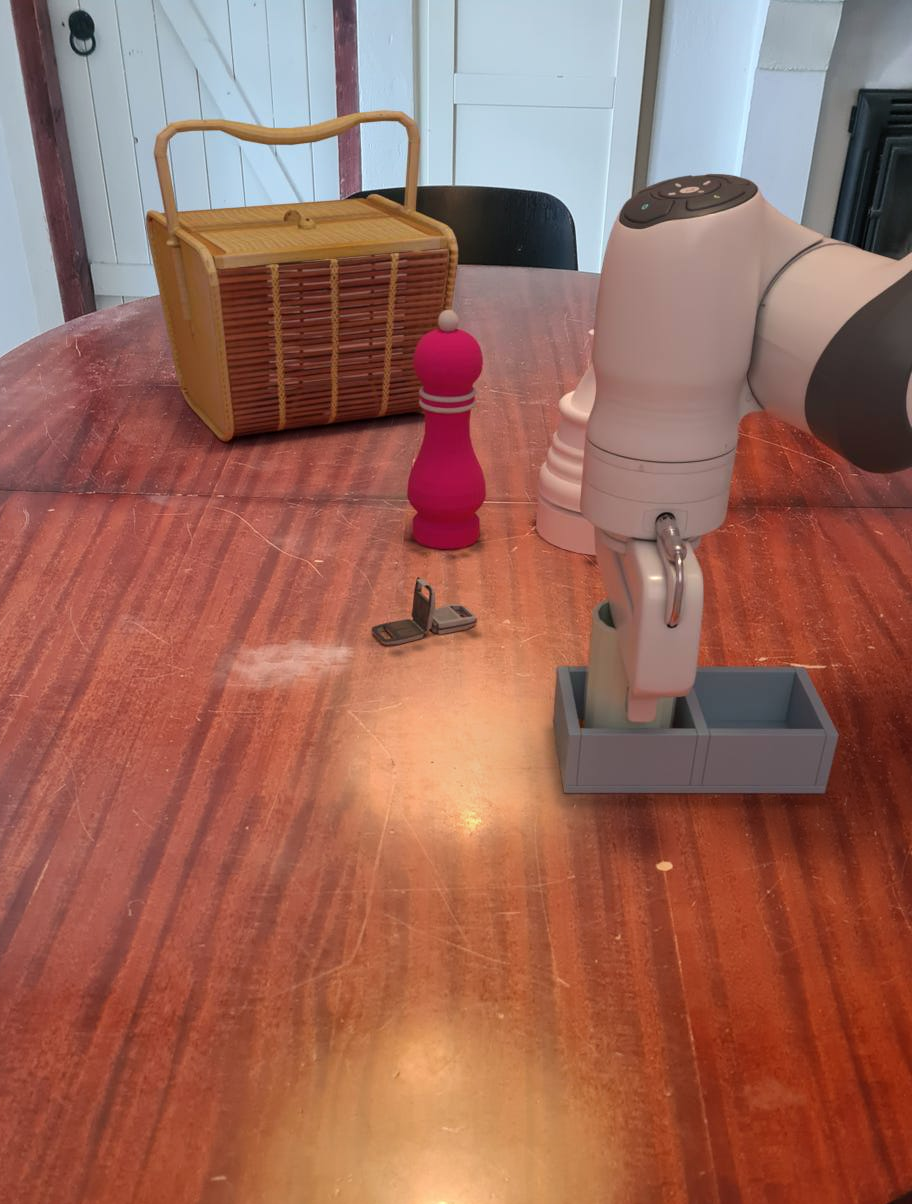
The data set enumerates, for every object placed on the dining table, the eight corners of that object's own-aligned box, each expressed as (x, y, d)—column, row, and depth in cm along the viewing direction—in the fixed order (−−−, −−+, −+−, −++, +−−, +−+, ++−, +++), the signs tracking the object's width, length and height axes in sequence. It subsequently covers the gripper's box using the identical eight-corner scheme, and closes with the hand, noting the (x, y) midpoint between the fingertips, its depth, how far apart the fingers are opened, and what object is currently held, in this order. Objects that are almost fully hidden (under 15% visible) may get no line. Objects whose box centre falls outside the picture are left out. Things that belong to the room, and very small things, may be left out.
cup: (662, 712, 87) (678, 594, 81) (676, 758, 82) (694, 636, 77) (577, 712, 87) (587, 594, 81) (586, 758, 82) (597, 636, 77)
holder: (792, 722, 89) (804, 666, 86) (825, 794, 82) (839, 734, 79) (552, 722, 89) (556, 665, 86) (563, 793, 82) (568, 734, 79)
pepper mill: (476, 519, 119) (481, 298, 107) (491, 549, 113) (499, 319, 101) (402, 524, 118) (399, 301, 106) (414, 554, 112) (413, 322, 100)
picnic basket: (216, 462, 131) (184, 138, 113) (156, 393, 150) (120, 106, 132) (465, 427, 141) (472, 123, 122) (379, 366, 159) (374, 95, 141)
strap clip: (463, 612, 103) (463, 564, 101) (479, 627, 101) (480, 578, 98) (369, 632, 100) (367, 583, 98) (384, 648, 98) (383, 598, 96)
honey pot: (591, 567, 110) (609, 358, 99) (509, 519, 119) (517, 322, 108) (699, 537, 116) (728, 336, 105) (613, 494, 124) (632, 304, 114)
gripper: (743, 557, 66) (707, 774, 74) (680, 429, 82) (656, 619, 90) (624, 556, 66) (602, 773, 74) (585, 429, 82) (570, 619, 90)
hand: (631, 687), depth 82 cm, fingers closed on cup, 6 cm apart
